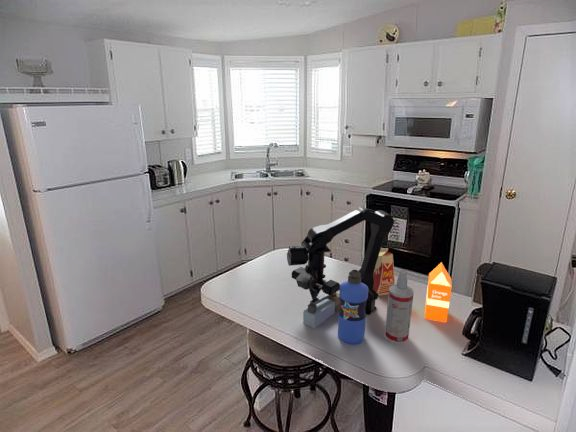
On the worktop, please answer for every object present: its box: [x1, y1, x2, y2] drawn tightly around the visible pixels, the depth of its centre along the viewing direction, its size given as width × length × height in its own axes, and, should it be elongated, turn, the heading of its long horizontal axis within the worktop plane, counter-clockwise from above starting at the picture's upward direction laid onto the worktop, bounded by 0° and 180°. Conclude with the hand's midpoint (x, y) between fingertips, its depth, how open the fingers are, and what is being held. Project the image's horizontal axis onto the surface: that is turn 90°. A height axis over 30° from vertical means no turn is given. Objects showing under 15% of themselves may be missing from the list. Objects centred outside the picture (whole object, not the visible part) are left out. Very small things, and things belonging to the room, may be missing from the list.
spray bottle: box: [384, 269, 415, 345], centre depth 125 cm, size 8×8×25 cm
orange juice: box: [424, 261, 453, 323], centre depth 139 cm, size 8×9×20 cm
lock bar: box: [309, 292, 337, 305], centre depth 141 cm, size 13×2×2 cm, turn 133°
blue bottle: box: [337, 269, 368, 346], centre depth 125 cm, size 9×9×25 cm
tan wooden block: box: [327, 292, 341, 314], centre depth 145 cm, size 5×4×6 cm
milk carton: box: [373, 247, 396, 297], centre depth 158 cm, size 9×9×20 cm
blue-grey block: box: [302, 299, 335, 329], centre depth 139 cm, size 5×13×8 cm, turn 140°
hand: (314, 300), depth 140 cm, fingers closed
